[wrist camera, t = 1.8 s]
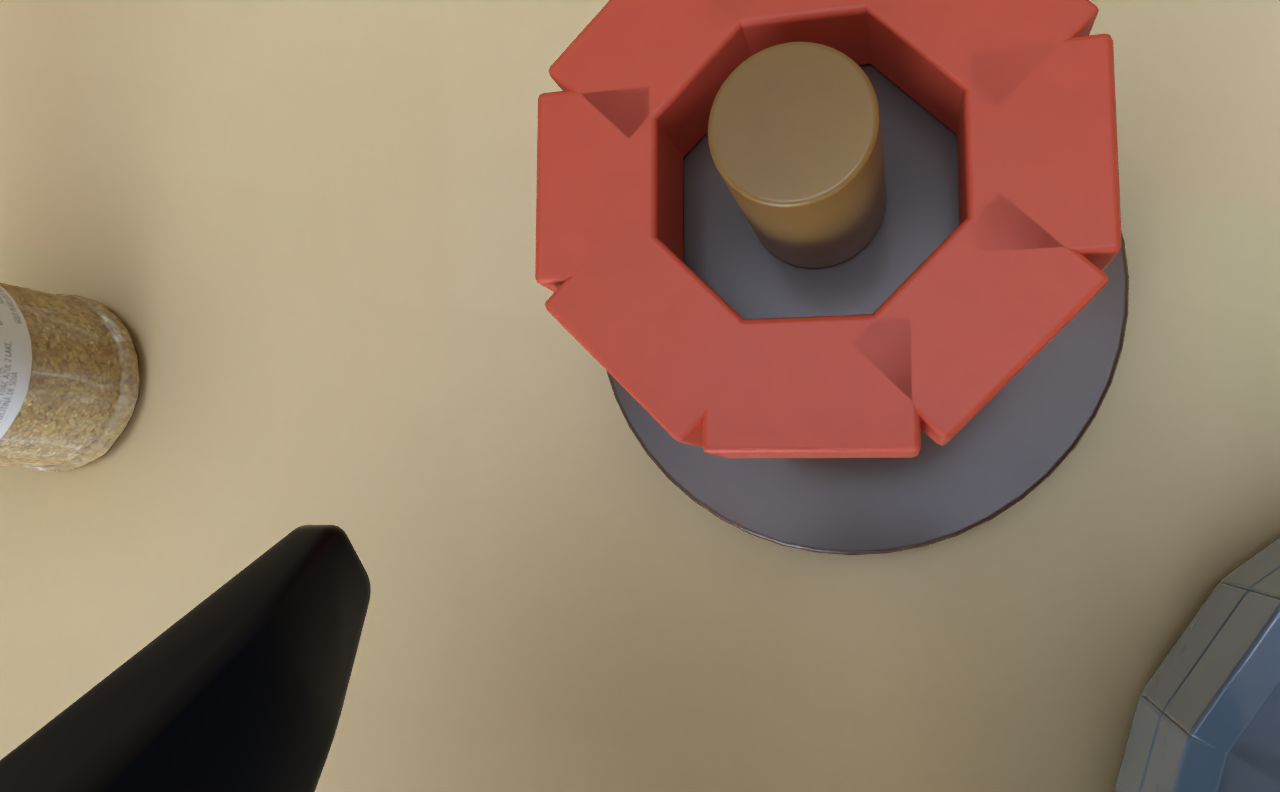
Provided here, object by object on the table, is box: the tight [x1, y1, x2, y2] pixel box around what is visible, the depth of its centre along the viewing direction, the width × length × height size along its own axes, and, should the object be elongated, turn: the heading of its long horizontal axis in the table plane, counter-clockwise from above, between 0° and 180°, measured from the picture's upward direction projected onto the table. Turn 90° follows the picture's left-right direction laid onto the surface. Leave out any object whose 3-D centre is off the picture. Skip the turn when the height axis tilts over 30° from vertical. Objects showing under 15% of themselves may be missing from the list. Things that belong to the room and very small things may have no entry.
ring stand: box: [606, 42, 1129, 555], centre depth 16 cm, size 10×10×11 cm
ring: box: [535, 0, 1122, 458], centre depth 13 cm, size 7×7×2 cm
